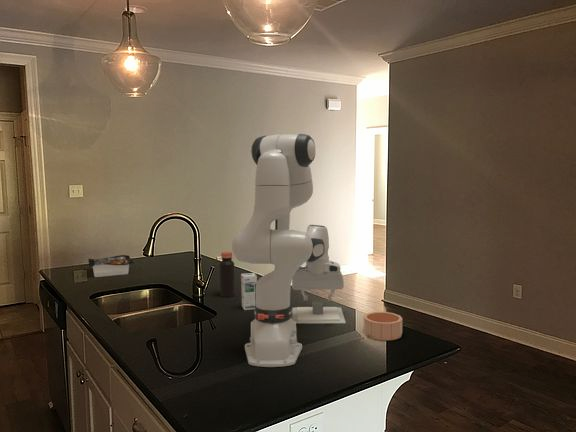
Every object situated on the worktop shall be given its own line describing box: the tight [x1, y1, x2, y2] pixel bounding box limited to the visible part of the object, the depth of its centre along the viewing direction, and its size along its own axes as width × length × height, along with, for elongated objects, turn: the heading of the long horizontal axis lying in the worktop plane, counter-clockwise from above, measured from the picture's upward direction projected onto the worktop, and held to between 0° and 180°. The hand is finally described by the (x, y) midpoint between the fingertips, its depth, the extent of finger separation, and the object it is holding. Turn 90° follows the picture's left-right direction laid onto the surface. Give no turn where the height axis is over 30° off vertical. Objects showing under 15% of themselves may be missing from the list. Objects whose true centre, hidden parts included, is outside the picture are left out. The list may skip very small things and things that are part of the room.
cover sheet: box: [296, 301, 340, 322], centre depth 190 cm, size 16×16×5 cm
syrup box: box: [240, 272, 258, 311], centre depth 203 cm, size 6×6×14 cm
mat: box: [291, 306, 347, 324], centre depth 190 cm, size 20×20×1 cm
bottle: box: [219, 251, 236, 298], centre depth 223 cm, size 7×7×20 cm
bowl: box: [363, 311, 403, 342], centre depth 171 cm, size 13×13×6 cm
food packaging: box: [88, 254, 135, 278], centre depth 274 cm, size 25×8×23 cm
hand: (317, 300), depth 190 cm, fingers open, 8 cm apart
